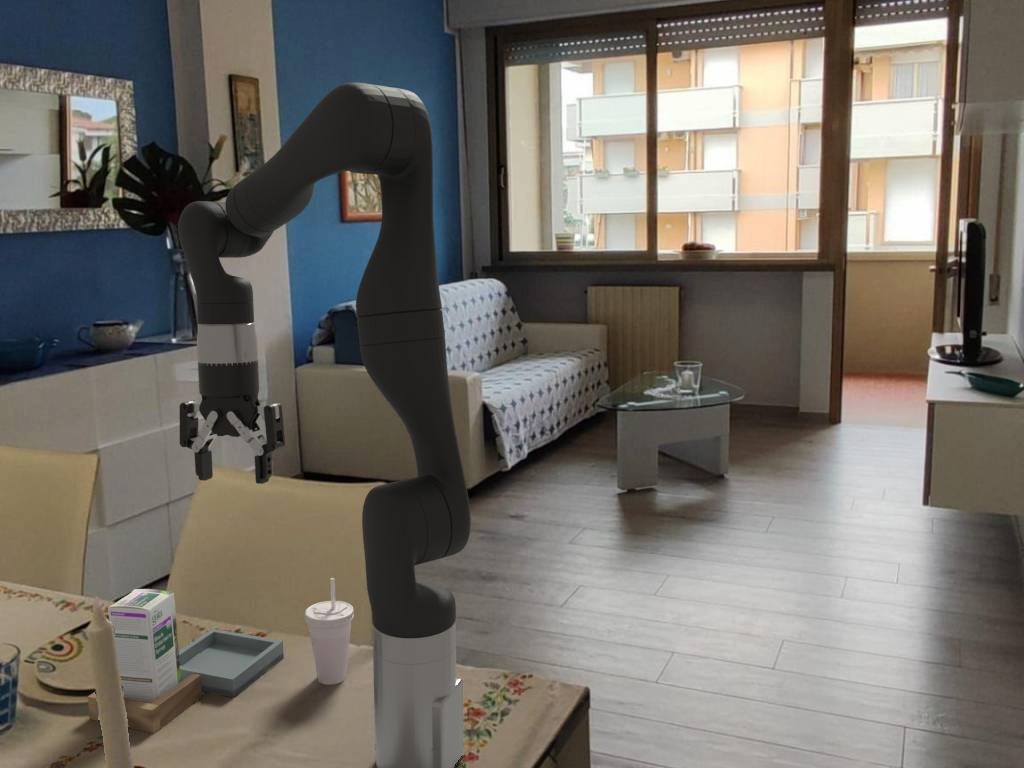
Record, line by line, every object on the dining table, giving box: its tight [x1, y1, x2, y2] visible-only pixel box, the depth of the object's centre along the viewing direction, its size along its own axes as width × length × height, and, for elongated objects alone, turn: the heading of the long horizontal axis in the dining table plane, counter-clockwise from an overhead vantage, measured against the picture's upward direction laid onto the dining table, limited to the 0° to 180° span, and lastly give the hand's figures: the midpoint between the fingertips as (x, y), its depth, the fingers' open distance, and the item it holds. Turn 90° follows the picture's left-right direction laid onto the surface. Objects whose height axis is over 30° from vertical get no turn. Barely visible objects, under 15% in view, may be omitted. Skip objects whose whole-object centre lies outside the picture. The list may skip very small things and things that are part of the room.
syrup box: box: [107, 588, 182, 704], centre depth 121 cm, size 6×6×14 cm
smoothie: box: [304, 577, 355, 686], centre depth 128 cm, size 6×6×14 cm
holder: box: [87, 674, 203, 734], centre depth 122 cm, size 10×9×3 cm
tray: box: [179, 628, 285, 698], centre depth 131 cm, size 12×12×2 cm
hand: (233, 480), depth 127 cm, fingers open, 8 cm apart
